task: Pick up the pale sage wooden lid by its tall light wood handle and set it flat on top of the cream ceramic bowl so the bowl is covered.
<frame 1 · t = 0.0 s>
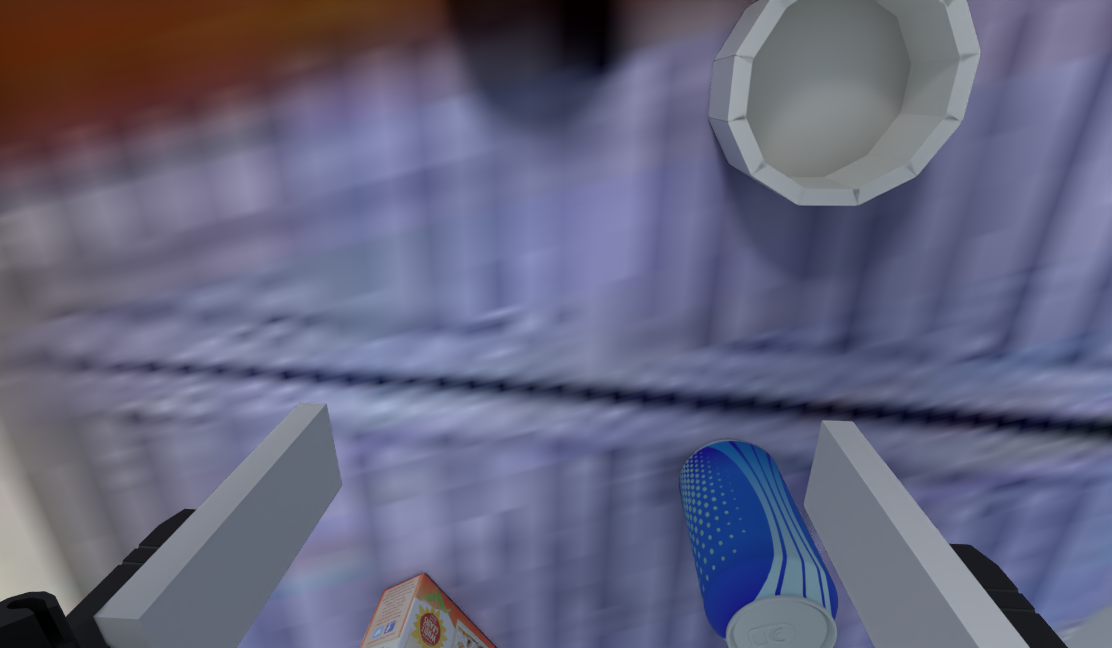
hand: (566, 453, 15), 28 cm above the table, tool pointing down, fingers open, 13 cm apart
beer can: (724, 470, 48), on the table
bowl: (810, 89, 36), on the table
cracker box: (444, 620, 58), on the table
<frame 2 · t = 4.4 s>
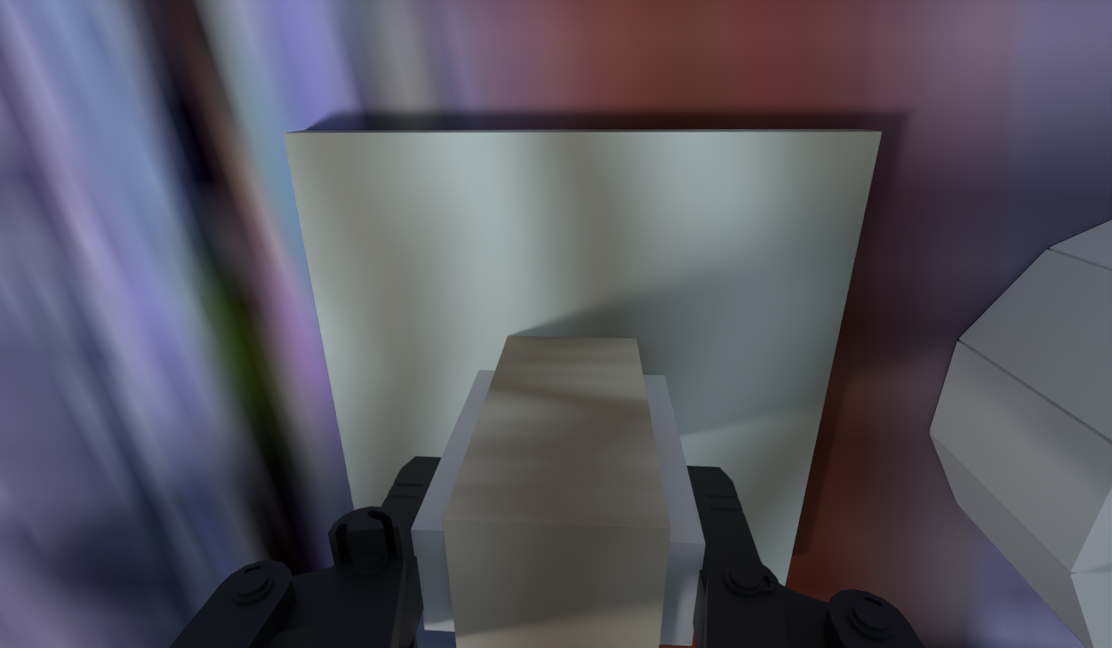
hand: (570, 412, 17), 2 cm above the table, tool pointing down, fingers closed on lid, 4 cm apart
lid: (572, 375, 19), on the table, touching gripper
when the fingers open (10 cm above the table, at t = 8.9 s): lid drops 1 cm, resting on bowl.
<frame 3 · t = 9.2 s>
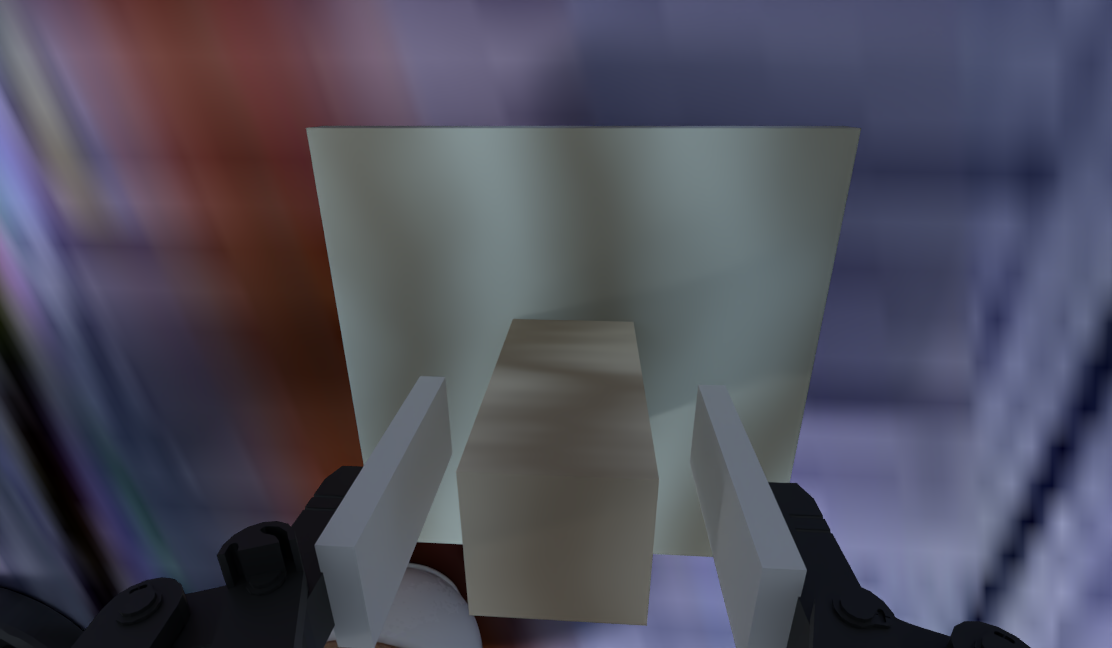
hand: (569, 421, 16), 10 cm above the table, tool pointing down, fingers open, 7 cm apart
lidded jar: (415, 596, 34), on the table
lid: (573, 358, 20), point 6 cm above the table, touching bowl
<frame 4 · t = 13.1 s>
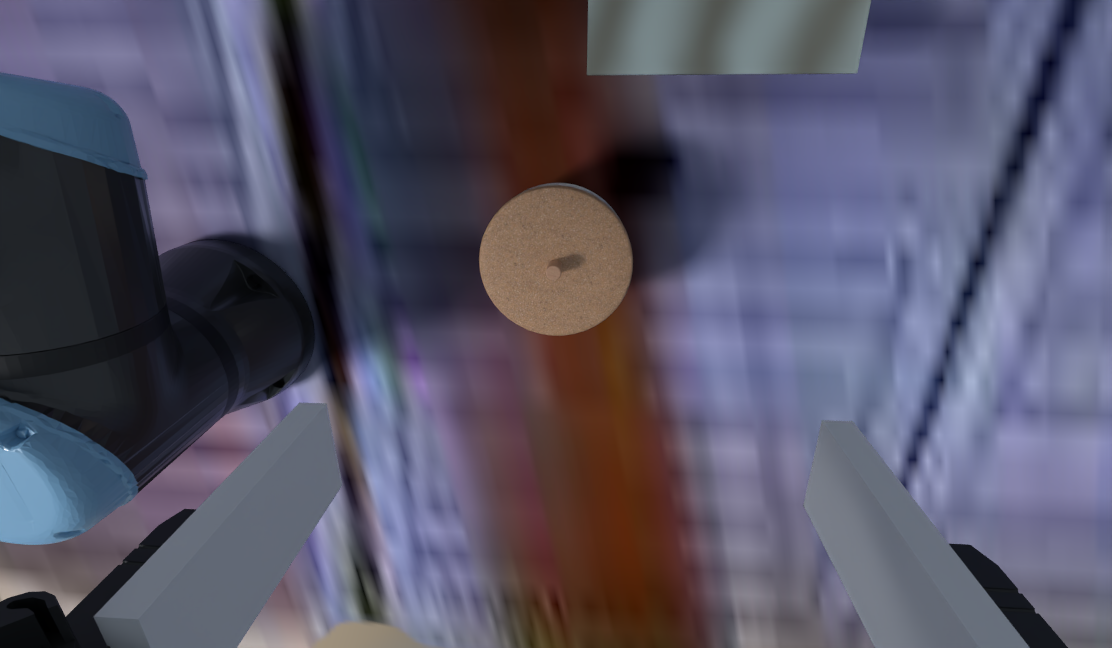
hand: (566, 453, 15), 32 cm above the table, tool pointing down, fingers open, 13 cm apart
lidded jar: (561, 238, 45), on the table
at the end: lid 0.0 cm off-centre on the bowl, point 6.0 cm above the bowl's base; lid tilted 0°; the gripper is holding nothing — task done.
